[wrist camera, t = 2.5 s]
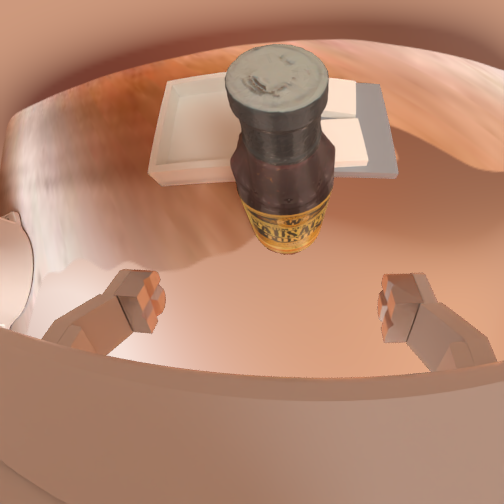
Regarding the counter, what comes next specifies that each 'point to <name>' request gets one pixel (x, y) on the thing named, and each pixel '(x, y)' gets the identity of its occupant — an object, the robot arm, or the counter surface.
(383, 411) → the robot arm
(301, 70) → the sauce bottle
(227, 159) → the bin
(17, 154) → the counter surface
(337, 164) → the tile
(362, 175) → the slate board
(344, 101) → the tile
